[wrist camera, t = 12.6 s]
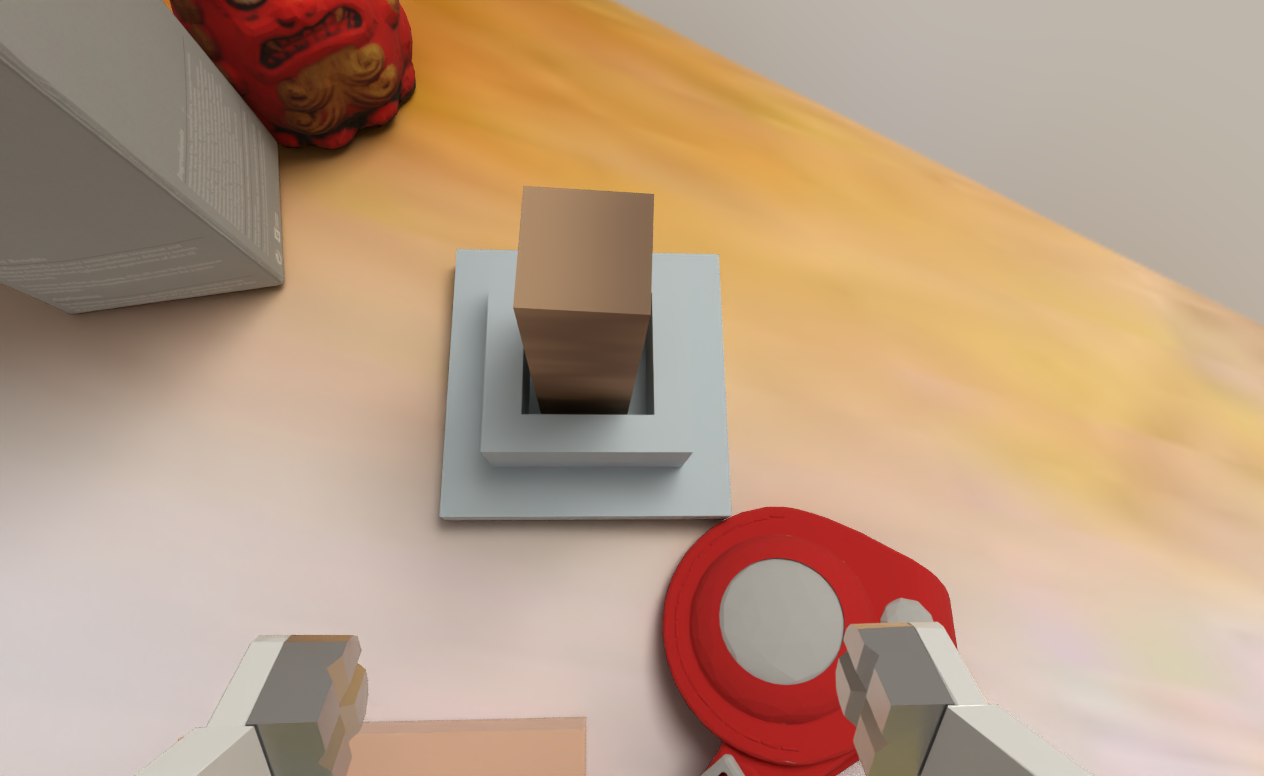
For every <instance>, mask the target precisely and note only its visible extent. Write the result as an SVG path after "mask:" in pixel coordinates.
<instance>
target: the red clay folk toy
mask: <svg viewBox="0 0 1264 776" xmlns="http://www.w3.org/2000/svg"><path fill="white" fill-rule="evenodd" d="M170 3H171V7H172V10H173V14H174V16H175V17H176V18H177V19H178V21H179V22H180V23H181V24H182V25H183V27H184V28H185V29H186V30H187V32H188V33H189V34H190V35H191V36H192V38H193V39H194V40H195V41H196V42H197V44H198V45H199V46H200V47H201V49H202V50H203V51H204V52H205V53H206V55H207V56H208V57H209V58H210V60H211V61H212V62H213V63H214V65H215V66H216V67H217V68H218V70H219V71H220V72H221V73H222V74H223V76H224V77H225V78H226V79H227V81H228V82H229V83H230V84H231V85H232V87H233V88H234V89H235V90H236V91H237V93H238V94H239V95H240V96H241V98H242V99H243V100H244V101H245V102H246V104H247V105H248V106H249V107H250V109H251V110H252V111H253V112H254V113H255V115H256V116H257V117H258V118H259V120H260V121H261V122H262V124H263V125H264V126H265V127H266V129H267V130H268V131H269V132H270V134H271V135H272V136H273V137H274V139H275V140H276V142H278V143H280V144H282V145H284V146H287V147H289V148H298V147H302V146H305V145H315V146H320V147H322V148H325V149H337V148H340V147H342V146H344V145H346V144H347V143H349V142H350V141H351V140H352V139H353V138H354V136H355V134H356V132H357V130H358V129H360V128H361V129H364V128H365V127H367V126H373V125H374V127H380V126H383V125H385V124H386V123H387V122H388V121H390V120H392V119H393V118H394V116H395V115H397V110H398V108H399V107H400V106H401V105H402V104H403V103H404V102H405V101H406V100H407V99H409V97H410V96H411V95H412V94H413V92H414V90H415V87H416V83H415V71H414V68H413V63H412V61H411V60H412V35H411V28H410V25H409V22H408V19H407V16H406V14H405V11H404V10H403V8H402V7H401V5H400V3H399V0H170Z"/></svg>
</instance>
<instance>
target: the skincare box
mask: <svg viewBox="0 0 1264 776" xmlns="http://www.w3.org/2000/svg"><path fill="white" fill-rule="evenodd" d="M0 283H2V284H4V285H7V286H9V287H11V288H13V289H15V290H18V291H20V292H23V293H25V294H27V295H29V296H32V297H34V298H36V299H38V300H40V301H43V302H45V303H47V304H49V305H51V306H54V307H56V308H58V309H60V310H62V311H64V312H66V313H68V314H77V313H84V312H91V311H98V310H104V309H111V308H118V307H125V306H132V305H139V304H146V303H153V302H161V301H168V300H176V299H183V298H191V297H198V296H206V295H213V294H220V293H227V292H235V291H242V290H249V289H256V288H263V287H269V286H276V285H281V284H283V283H284V267H283V247H282V227H281V209H280V186H279V165H278V145H277V142H276V140H275V139H274V137H273V136H272V135H271V134H270V132H269V131H268V130H267V129H266V127H265V126H264V125H263V124H262V122H261V121H260V120H259V118H258V117H257V116H256V115H255V113H254V112H253V111H252V110H251V109H250V107H249V106H248V105H247V104H246V102H245V101H244V100H243V99H242V98H241V96H240V95H239V94H238V93H237V91H236V90H235V89H234V88H233V87H232V85H231V84H230V83H229V82H228V81H227V79H226V78H225V77H224V76H223V74H222V73H221V72H220V71H219V70H218V68H217V67H216V66H215V65H214V63H213V62H212V61H211V60H210V58H209V57H208V56H207V55H206V53H205V52H204V51H203V50H202V49H201V47H200V46H199V45H198V44H197V42H196V41H195V40H194V39H193V38H192V36H191V35H190V34H189V33H188V32H187V30H186V29H185V28H184V27H183V25H182V24H181V23H180V22H179V21H178V19H177V18H176V17H175V16H174V14H173V13H172V12H171V11H170V9H169V8H168V7H167V6H166V4H165V3H164V2H163V1H162V0H0Z"/></svg>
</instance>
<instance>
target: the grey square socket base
mask: <svg viewBox="0 0 1264 776" xmlns="http://www.w3.org/2000/svg"><path fill="white" fill-rule="evenodd" d="M517 255H518V250H472V249H457V254H456V270H455V285H454V300H453V316H452V331H451V346H450V362H449V377H448V392H447V408H446V423H445V438H444V454H443V469H442V484H441V500H440V515H439V517H440V518H442V519H445V520H613V519H726V518H728V517H730V516H732V511H731V491H730V471H729V451H728V431H727V411H726V391H725V370H724V350H723V330H722V310H721V290H720V270H719V254H678V253H652V288H651V316H650V320H649V325H648V329H647V333H646V337H645V342H644V346H643V350H642V354H641V359H640V363H639V367H638V371H637V376H636V380H635V384H634V388H633V393H632V397H631V401H630V405H629V410H628V414H627V415H566V414H541V412H540V408H539V404H538V400H537V397H536V393H535V389H534V385H533V381H532V378H531V374H530V370H529V366H528V362H527V359H526V355H525V351H524V347H523V344H522V340H521V336H520V332H519V328H518V325H517V321H516V317H515V313H514V309H513V302H514V290H515V279H516V267H517Z"/></svg>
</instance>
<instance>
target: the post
mask: <svg viewBox="0 0 1264 776" xmlns="http://www.w3.org/2000/svg"><path fill="white" fill-rule="evenodd" d="M653 211H654V194H644V193H628V192H612V191H596V190H580V189H564V188H548V187H532V186H523V197H522V209H521V220H520V232H519V244H518V255H517V267H516V279H515V290H514V302H513V309H514V313H515V317H516V321H517V325H518V328H519V332H520V336H521V340H522V344H523V347H524V351H525V355H526V359H527V362H528V366H529V370H530V374H531V378H532V381H533V385H534V389H535V393H536V397H537V400H538V404H539V408H540V412H541V414H566V415H627V414H628V410H629V405H630V401H631V397H632V393H633V388H634V384H635V380H636V376H637V371H638V367H639V363H640V359H641V354H642V350H643V346H644V342H645V337H646V333H647V329H648V325H649V320H650V316H651V288H652V250H653Z"/></svg>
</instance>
